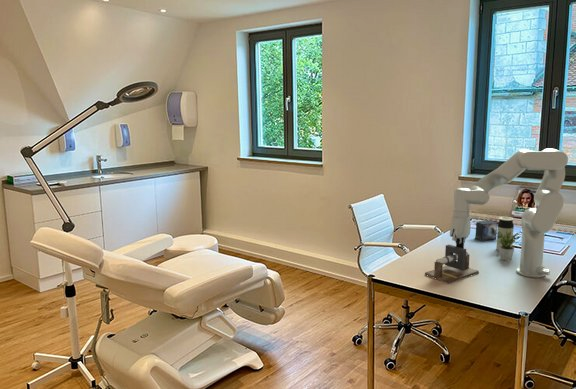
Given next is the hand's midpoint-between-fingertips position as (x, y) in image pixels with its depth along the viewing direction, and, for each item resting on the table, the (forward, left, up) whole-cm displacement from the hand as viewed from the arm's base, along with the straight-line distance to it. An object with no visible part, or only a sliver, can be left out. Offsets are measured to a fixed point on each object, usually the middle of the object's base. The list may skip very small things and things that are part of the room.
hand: (459, 250), depth 236 cm
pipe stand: (0, +5, -11) cm, 12 cm away
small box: (+26, -60, -11) cm, 66 cm away
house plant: (-4, -35, -11) cm, 36 cm away
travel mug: (+7, -49, -11) cm, 50 cm away
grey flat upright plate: (0, +3, -8) cm, 8 cm away
